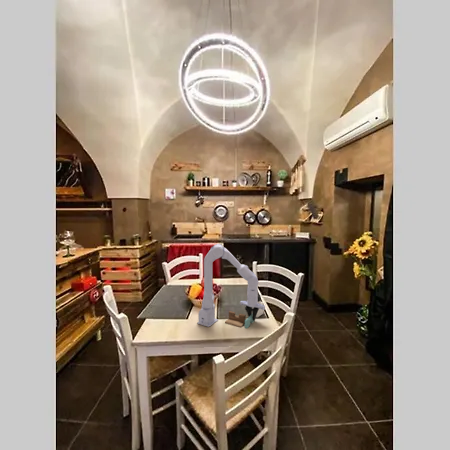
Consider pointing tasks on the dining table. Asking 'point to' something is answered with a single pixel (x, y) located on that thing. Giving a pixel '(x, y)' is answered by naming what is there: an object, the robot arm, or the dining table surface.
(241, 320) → the joint base
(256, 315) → the medicine bottle
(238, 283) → the dining table surface
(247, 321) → the teal block
